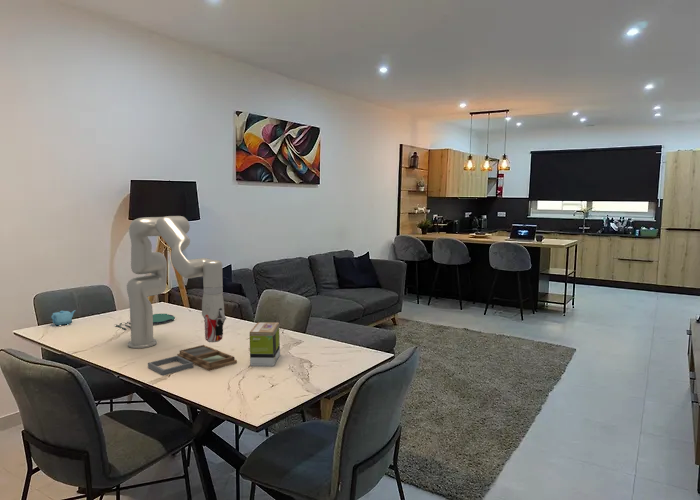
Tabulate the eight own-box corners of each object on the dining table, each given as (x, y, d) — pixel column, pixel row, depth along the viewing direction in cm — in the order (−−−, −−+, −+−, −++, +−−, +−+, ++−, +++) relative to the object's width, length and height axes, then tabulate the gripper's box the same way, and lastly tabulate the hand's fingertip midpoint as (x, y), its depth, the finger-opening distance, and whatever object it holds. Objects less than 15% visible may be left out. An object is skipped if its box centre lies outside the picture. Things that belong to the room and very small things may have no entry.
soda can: (217, 343, 195) (217, 314, 194) (201, 342, 197) (201, 313, 195) (225, 338, 202) (225, 310, 201) (210, 337, 203) (209, 309, 202)
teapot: (74, 321, 265) (73, 307, 264) (78, 323, 261) (78, 309, 260) (49, 325, 256) (49, 311, 255) (53, 327, 252) (53, 313, 251)
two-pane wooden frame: (177, 356, 208) (177, 350, 208) (204, 350, 217) (204, 344, 217) (209, 371, 191) (208, 364, 191) (236, 363, 201) (236, 356, 200)
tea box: (257, 354, 212) (257, 321, 211) (280, 355, 212) (280, 321, 211) (249, 366, 197) (249, 330, 196) (274, 366, 197) (273, 331, 196)
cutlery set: (180, 321, 268) (180, 317, 268) (125, 332, 246) (125, 328, 246) (164, 315, 282) (164, 311, 281) (110, 325, 260) (110, 321, 260)
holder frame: (148, 367, 194) (147, 362, 194) (177, 360, 203) (177, 355, 203) (163, 375, 186) (163, 370, 186) (193, 367, 195) (193, 362, 195)
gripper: (193, 289, 200) (194, 331, 202) (216, 294, 189) (217, 339, 190) (209, 286, 206) (210, 327, 208) (233, 292, 194) (234, 335, 196)
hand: (214, 333), depth 199 cm, fingers closed on soda can, 6 cm apart
